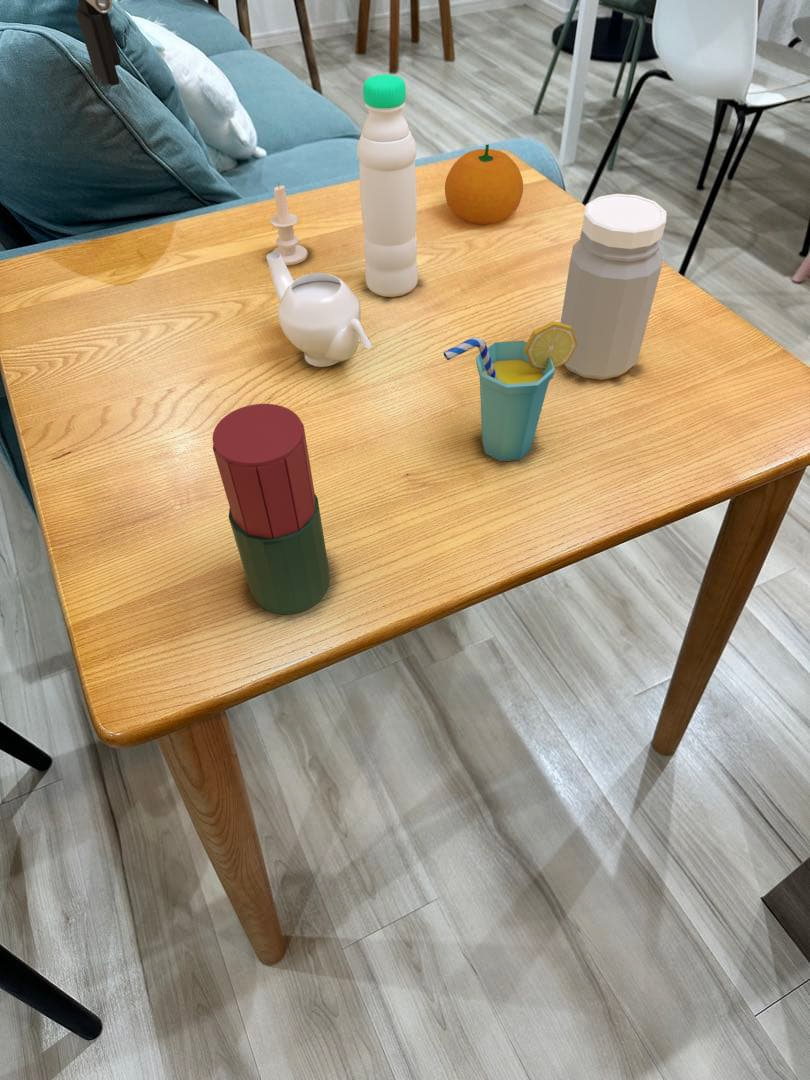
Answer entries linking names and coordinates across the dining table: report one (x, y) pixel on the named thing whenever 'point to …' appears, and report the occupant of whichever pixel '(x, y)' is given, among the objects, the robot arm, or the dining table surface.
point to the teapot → (317, 314)
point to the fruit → (484, 186)
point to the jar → (613, 283)
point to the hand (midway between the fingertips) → (37, 95)
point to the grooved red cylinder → (265, 469)
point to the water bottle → (388, 189)
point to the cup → (516, 385)
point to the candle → (286, 230)
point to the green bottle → (285, 566)
